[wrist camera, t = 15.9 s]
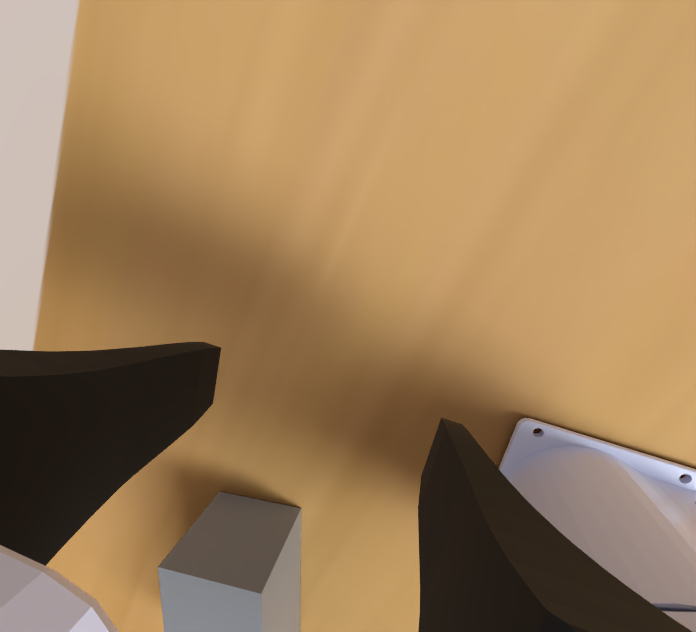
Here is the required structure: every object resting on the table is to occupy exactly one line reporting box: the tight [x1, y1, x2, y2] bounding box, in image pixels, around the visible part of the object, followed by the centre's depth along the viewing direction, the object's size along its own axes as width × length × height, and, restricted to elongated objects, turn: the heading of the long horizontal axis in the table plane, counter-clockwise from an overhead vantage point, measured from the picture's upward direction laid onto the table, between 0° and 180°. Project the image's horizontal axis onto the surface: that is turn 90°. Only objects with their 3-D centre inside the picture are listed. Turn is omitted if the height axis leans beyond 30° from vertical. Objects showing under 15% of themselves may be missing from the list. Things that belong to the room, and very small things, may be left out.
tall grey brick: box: [158, 492, 301, 632], centre depth 23 cm, size 6×13×6 cm, turn 177°
